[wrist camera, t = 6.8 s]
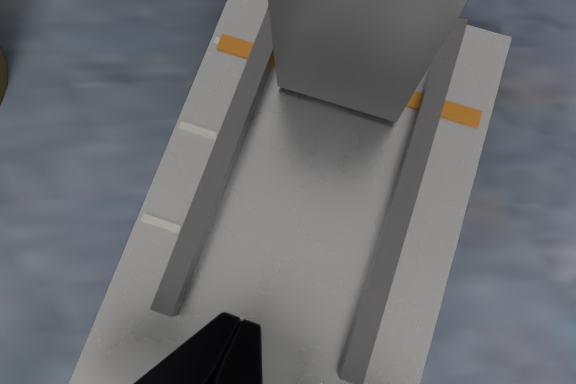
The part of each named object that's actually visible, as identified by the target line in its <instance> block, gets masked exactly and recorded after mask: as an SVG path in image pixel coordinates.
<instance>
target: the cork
mask: <svg viewBox="0 0 576 384" xmlns="http://www.w3.org/2000/svg"><path fill="white" fill-rule="evenodd" d="M6 87H7V63H6V60H5V57H4V55H3V52H2V49H1V47H0V104H1V101H2V98H3V95H4V92H5V89H6Z"/></svg>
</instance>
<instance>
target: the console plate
mask: <svg viewBox="0 0 576 384" xmlns="http://www.w3.org/2000/svg"><path fill="white" fill-rule="evenodd" d="M467 23H468V19H465V18H461V17H458V19H457V20H456V22H455V24H454V26H453V27H452V29H451V31H450V32H449V34H448V36H447V37H446V39H445V41H444V43H443V44H442V46H441V48H440V49H439V51H438V53H437V55H436V56H435V58H434V60H433V61H432V63H431V65H430V66H429V68H428V70H427V72H426V73H425V75H424V77H423V78H422V80H421V82H420V83H419V85H418V87H417V89H416V90H415V92H414V94H413V95H412V97H411V99H410V101H409V102H408V104H407V106H406V107H405V109H404V111H403V112H402V114H401V116H400V118H399V119H398V121H397V123H396V122H393V121H390V120H386V119H383V118H380V117H377V116H373V115H370V114H367V113H364V112H360V111H357V110H354V109H350V108H347V107H344V106H341V105H337V104H334V103H331V102H328V101H324V100H321V99H318V98H315V97H311V96H308V95H305V94H301V93H298V92H295V91H292V90H288V89H285V88H282V87H279V86H277V77H276V68H275V59H274V51H273V42H272V33H271V24H270V16H269V7H268V0H227V2H226V5H225V7H224V9H223V12H222V14H221V17H220V19H219V22H218V24H217V26H216V29H215V31H214V34H213V36H212V38H211V41H210V43H209V46H208V48H207V51H206V53H205V55H204V58H203V60H202V63H201V65H200V68H199V70H198V72H197V75H196V77H195V80H194V82H193V84H192V87H191V89H190V92H189V94H188V97H187V99H186V101H185V104H184V106H183V109H182V111H181V114H180V116H179V118H178V121H177V123H176V126H175V128H174V130H173V133H172V135H171V138H170V140H169V143H168V145H167V147H166V150H165V152H164V155H163V157H162V160H161V162H160V164H159V167H158V169H157V172H156V174H155V176H154V179H153V181H152V184H151V186H150V189H149V191H148V193H147V196H146V198H145V201H144V203H143V206H142V208H141V210H140V213H139V215H138V218H137V220H136V222H135V225H134V227H133V230H132V232H131V235H130V237H129V239H128V242H127V244H126V247H125V249H124V252H123V254H122V256H121V259H120V261H119V264H118V266H117V268H116V271H115V273H114V276H113V278H112V281H111V283H110V285H109V288H108V290H107V293H106V295H105V298H104V300H103V302H102V305H101V307H100V310H99V312H98V314H97V317H96V319H95V322H94V324H93V327H92V329H91V331H90V334H89V336H88V339H87V341H86V344H85V346H84V348H83V351H82V353H81V356H80V358H79V360H78V363H77V365H76V368H75V370H74V373H73V375H72V377H71V380H70V382H69V384H133V383H134V382H136V381H137V380H138V379H139V378H141V377H142V376H143V375H144V374H146V373H147V372H148V371H149V370H151V369H152V368H153V367H154V366H156V365H157V364H158V363H159V362H160V361H162V360H163V359H164V358H165V357H167V356H168V355H169V354H170V353H172V352H173V351H174V350H175V349H177V348H178V347H179V346H180V345H182V344H183V343H184V342H185V341H187V340H188V339H189V338H190V337H191V336H193V335H194V334H195V333H196V332H198V331H199V330H200V329H201V328H203V327H204V326H205V325H206V324H208V323H209V322H210V321H211V320H213V319H214V318H215V317H216V316H217V315H219V314H220V313H222V312H228V313H230V314H233V315H236V316H239V317H240V318H241V321H242V320H243V319H247V320H250V321H253V322H255V323H258V324H260V325H261V331H262V373H263V384H420V382H421V379H422V375H423V371H424V367H425V363H426V360H427V356H428V352H429V348H430V344H431V341H432V337H433V333H434V329H435V326H436V322H437V318H438V314H439V310H440V307H441V303H442V299H443V295H444V292H445V288H446V284H447V280H448V276H449V273H450V269H451V265H452V261H453V258H454V254H455V250H456V246H457V242H458V239H459V235H460V231H461V227H462V224H463V220H464V216H465V212H466V208H467V205H468V201H469V197H470V193H471V190H472V186H473V182H474V178H475V174H476V171H477V167H478V163H479V159H480V156H481V152H482V148H483V144H484V140H485V137H486V133H487V129H488V125H489V122H490V118H491V114H492V110H493V106H494V103H495V99H496V95H497V91H498V88H499V84H500V80H501V76H502V72H503V69H504V65H505V61H506V57H507V54H508V50H509V46H510V42H511V38H512V37H510V36H506V35H502V34H499V33H495V32H492V31H488V30H485V29H481V28H477V27H474V26H470V25H467Z"/></svg>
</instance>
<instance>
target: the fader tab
mask: <svg viewBox="0 0 576 384" xmlns="http://www.w3.org/2000/svg"><path fill="white" fill-rule="evenodd" d="M467 2H468V0H268V7H269V16H270V24H271V33H272V42H273V51H274V59H275V68H276V77H277V86H279V87H282V88H285V89H288V90H292V91H295V92H298V93H301V94H305V95H308V96H311V97H315V98H318V99H321V100H324V101H328V102H331V103H334V104H337V105H341V106H344V107H347V108H350V109H354V110H357V111H360V112H364V113H367V114H370V115H373V116H377V117H380V118H383V119H386V120H390V121H393V122H396V123H397V121H398V119H399V118H400V116H401V114H402V112H403V111H404V109H405V107H406V106H407V104H408V102H409V101H410V99H411V97H412V95H413V94H414V92H415V90H416V89H417V87H418V85H419V83H420V82H421V80H422V78H423V77H424V75H425V73H426V72H427V70H428V68H429V66H430V65H431V63H432V61H433V60H434V58H435V56H436V55H437V53H438V51H439V49H440V48H441V46H442V44H443V43H444V41H445V39H446V37H447V36H448V34H449V32H450V31H451V29H452V27H453V26H454V24H455V22H456V20H457V19H458V17H459V15H460V14H461V12H462V10H463V9H464V7H465V5H466V3H467Z"/></svg>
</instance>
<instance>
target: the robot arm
mask: <svg viewBox="0 0 576 384" xmlns="http://www.w3.org/2000/svg"><path fill="white" fill-rule="evenodd" d="M133 384H263V373H262V331H261V325H260V324H258V323H255V322H253V321H250V320H247V319H243V320H242V321H241V318H240V317H239V316H236V315H233V314H230V313H228V312H222V313H220V314H219V315H217V316H216V317H215V318H214V319H213V320H211V321H210V322H209V323H208V324H206V325H205V326H204V327H203V328H201V329H200V330H199V331H198V332H196V333H195V334H194V335H193V336H191V337H190V338H189V339H188V340H187V341H185V342H184V343H183V344H182V345H180V346H179V347H178V348H177V349H175V350H174V351H173V352H172V353H170V354H169V355H168V356H167V357H165V358H164V359H163V360H162V361H160V362H159V363H158V364H157V365H156V366H154V367H153V368H152V369H151V370H149V371H148V372H147V373H146V374H144V375H143V376H142V377H141V378H139V379H138V380H137V381H136V382H134V383H133Z"/></svg>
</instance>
